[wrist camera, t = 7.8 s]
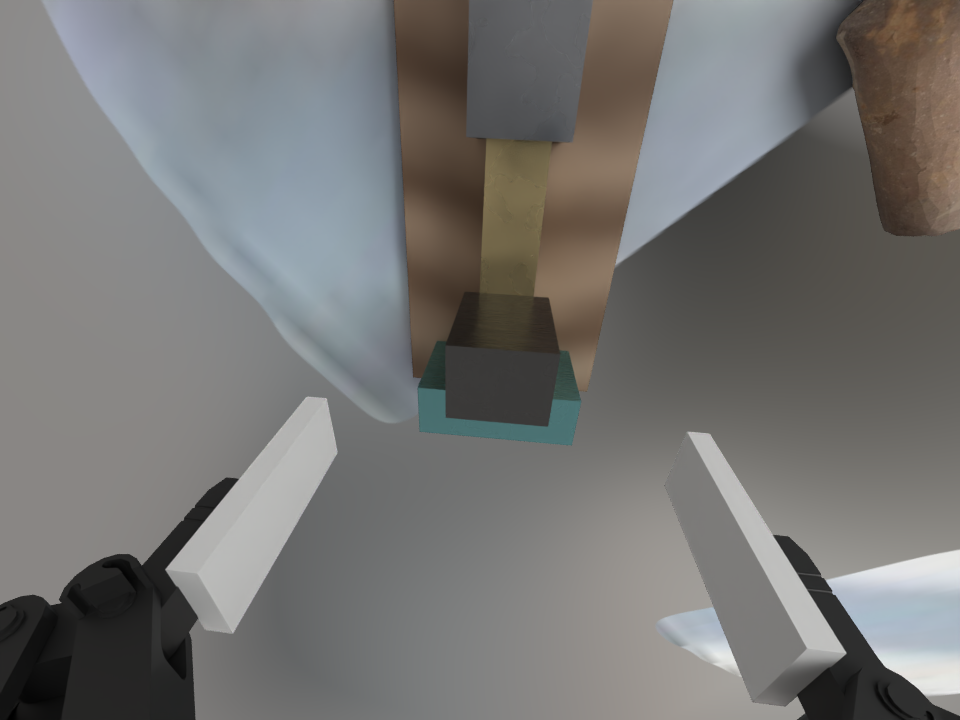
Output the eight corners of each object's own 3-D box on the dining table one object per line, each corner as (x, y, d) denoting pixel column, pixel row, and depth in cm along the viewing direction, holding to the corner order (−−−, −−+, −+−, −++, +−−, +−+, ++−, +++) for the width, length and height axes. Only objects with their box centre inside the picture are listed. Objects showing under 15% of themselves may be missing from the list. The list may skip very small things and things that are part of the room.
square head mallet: (475, 94, 21) (444, 57, 12) (569, 98, 20) (609, 63, 11) (467, 376, 30) (445, 476, 21) (532, 381, 29) (538, 485, 20)
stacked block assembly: (430, -85, 18) (391, -188, 12) (646, -81, 18) (707, -187, 12) (437, 379, 31) (419, 431, 25) (561, 389, 30) (571, 445, 25)
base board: (393, -104, 19) (387, -116, 18) (689, -100, 18) (698, -112, 17) (416, 370, 32) (413, 377, 31) (585, 384, 31) (587, 391, 30)
